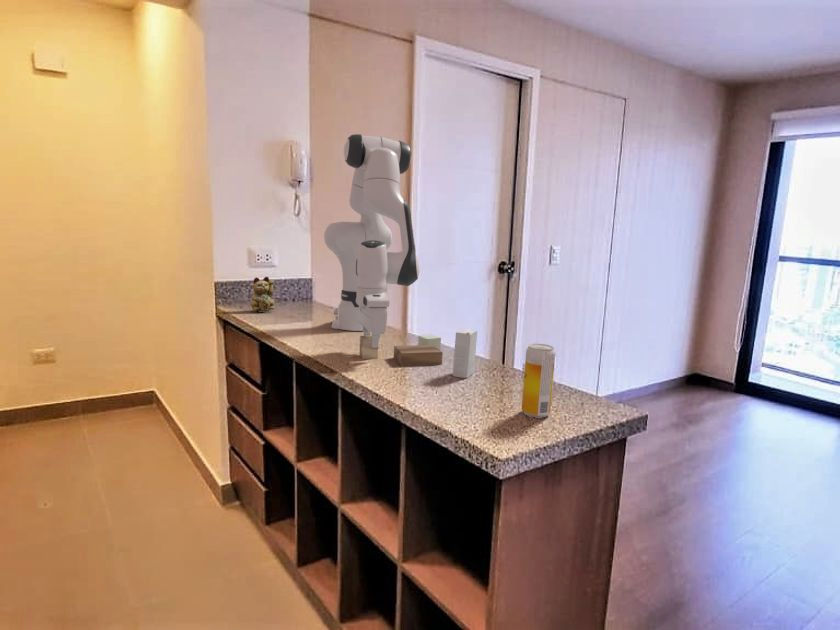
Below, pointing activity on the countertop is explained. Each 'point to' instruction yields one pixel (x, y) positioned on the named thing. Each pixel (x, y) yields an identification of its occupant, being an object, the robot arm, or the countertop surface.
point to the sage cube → (430, 340)
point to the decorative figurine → (262, 295)
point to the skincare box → (464, 353)
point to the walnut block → (417, 355)
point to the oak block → (367, 348)
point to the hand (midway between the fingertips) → (370, 343)
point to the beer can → (538, 380)
